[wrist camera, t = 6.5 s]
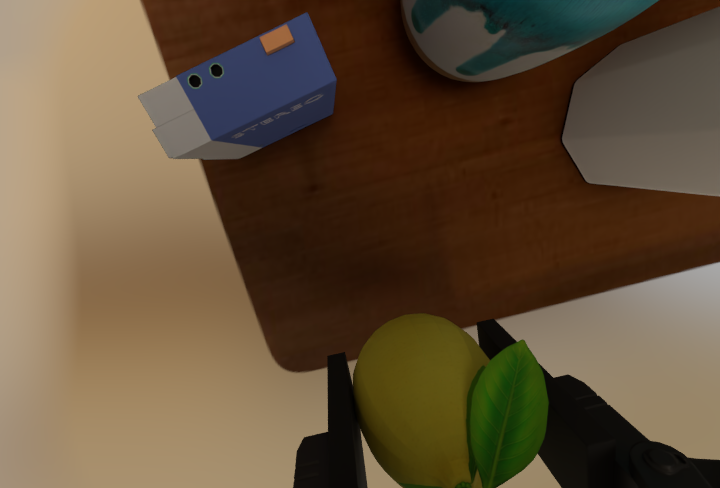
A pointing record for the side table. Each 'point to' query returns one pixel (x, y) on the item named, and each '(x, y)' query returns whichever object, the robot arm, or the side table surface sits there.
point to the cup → (652, 111)
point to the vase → (507, 32)
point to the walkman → (245, 96)
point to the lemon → (447, 405)
